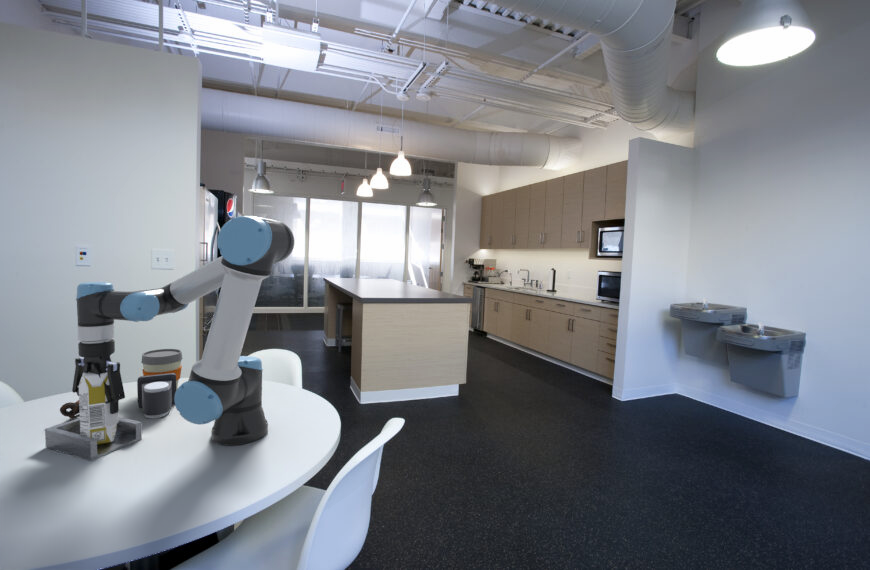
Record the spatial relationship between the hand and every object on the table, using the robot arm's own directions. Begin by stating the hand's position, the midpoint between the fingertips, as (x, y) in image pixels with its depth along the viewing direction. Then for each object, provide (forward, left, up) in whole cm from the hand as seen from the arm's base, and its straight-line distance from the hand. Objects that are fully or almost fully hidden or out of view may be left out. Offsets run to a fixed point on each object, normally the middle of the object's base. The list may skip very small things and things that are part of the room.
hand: (99, 421), depth 113 cm
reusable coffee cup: (+21, -35, -7) cm, 41 cm away
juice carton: (0, 0, -5) cm, 5 cm away
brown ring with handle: (+22, -10, -7) cm, 25 cm away
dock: (+1, 0, -7) cm, 7 cm away
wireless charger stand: (+7, -22, -7) cm, 24 cm away
